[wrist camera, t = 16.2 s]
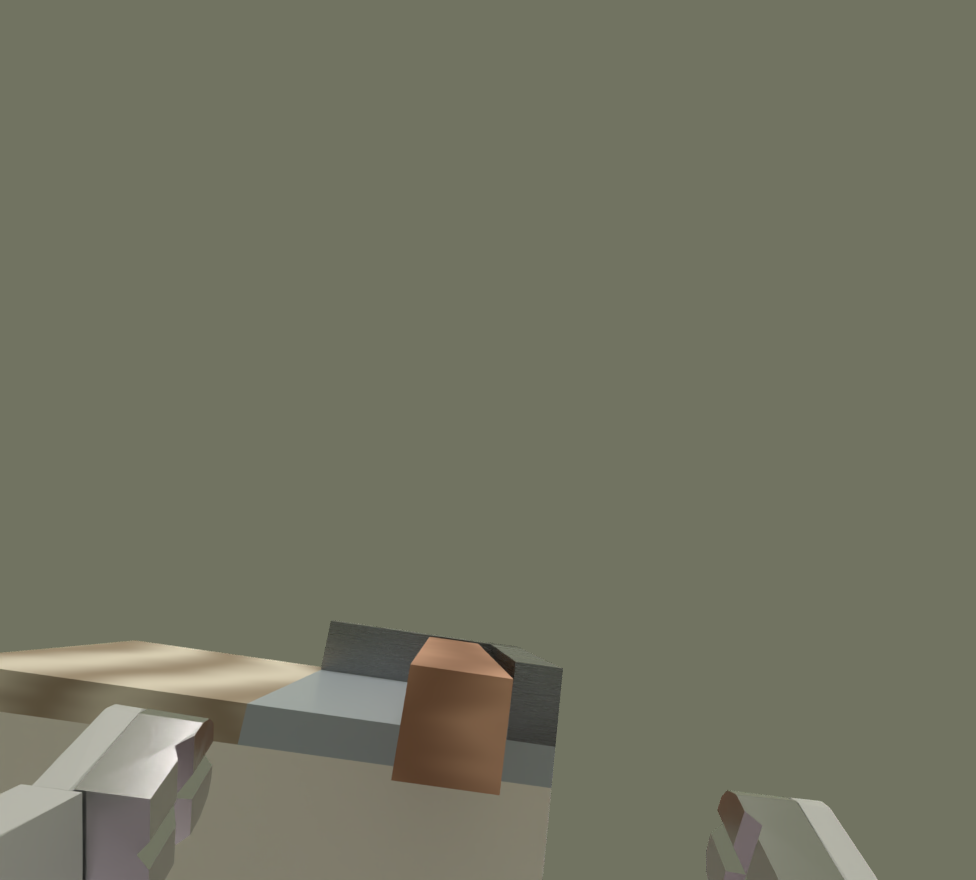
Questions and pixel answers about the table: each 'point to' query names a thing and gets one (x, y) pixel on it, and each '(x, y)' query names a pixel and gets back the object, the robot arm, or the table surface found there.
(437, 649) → the rod
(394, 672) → the lidded kitchen bin
